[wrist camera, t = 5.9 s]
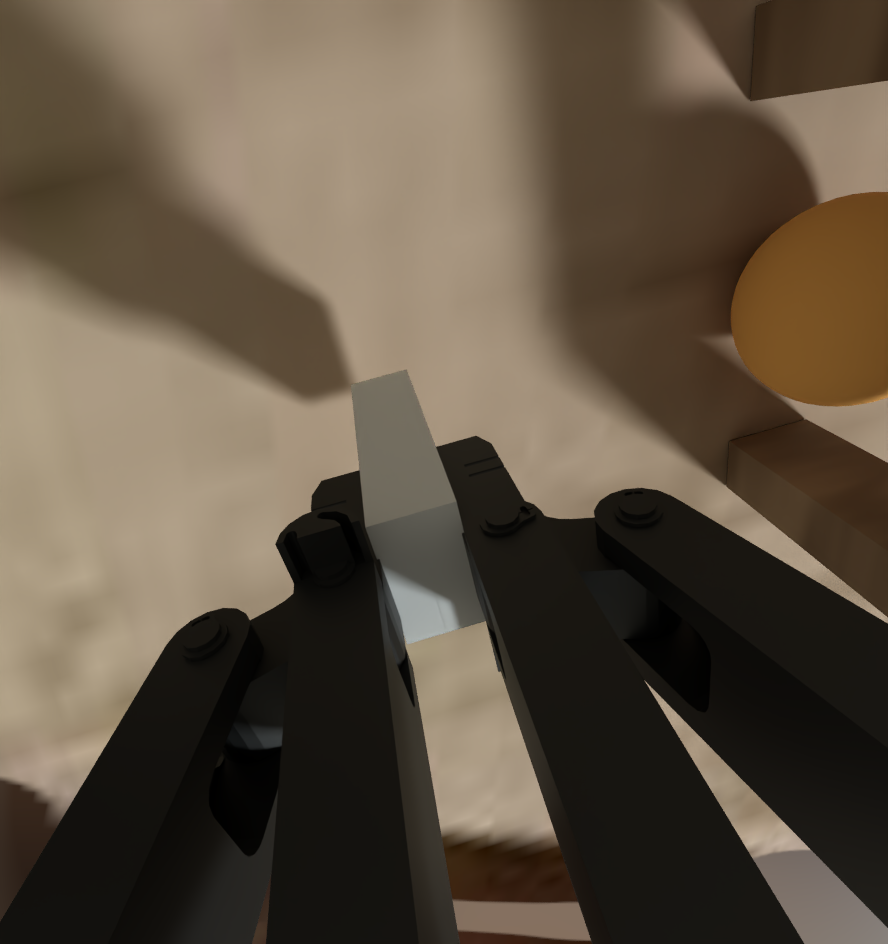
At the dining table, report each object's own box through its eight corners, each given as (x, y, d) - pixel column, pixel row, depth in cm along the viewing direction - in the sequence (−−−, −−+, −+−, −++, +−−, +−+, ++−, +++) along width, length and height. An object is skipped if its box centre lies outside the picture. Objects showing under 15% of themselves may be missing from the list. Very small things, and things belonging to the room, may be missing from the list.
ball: (1056, 159, 13) (961, 221, 10) (985, 378, 16) (898, 465, 13) (802, 178, 17) (694, 225, 15) (782, 349, 20) (688, 411, 17)
